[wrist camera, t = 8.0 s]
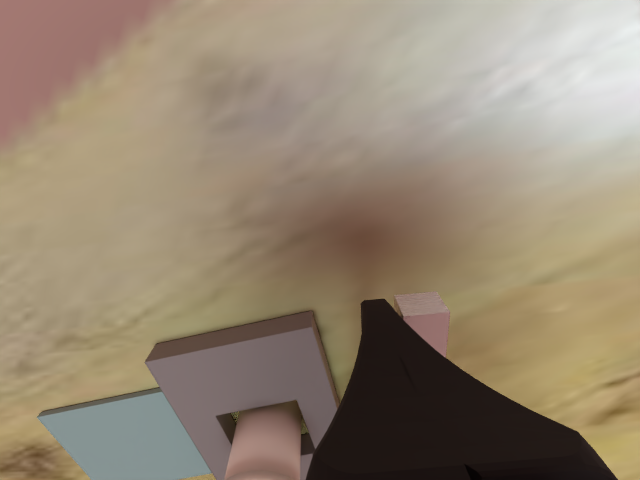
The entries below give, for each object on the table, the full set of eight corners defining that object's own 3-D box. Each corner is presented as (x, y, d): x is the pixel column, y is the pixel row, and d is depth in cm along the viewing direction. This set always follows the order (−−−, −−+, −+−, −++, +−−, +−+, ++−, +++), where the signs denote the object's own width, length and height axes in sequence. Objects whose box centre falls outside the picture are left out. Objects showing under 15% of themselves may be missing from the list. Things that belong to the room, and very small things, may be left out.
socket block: (359, 469, 26) (362, 490, 24) (240, 491, 26) (236, 512, 25) (311, 310, 19) (311, 326, 18) (155, 344, 20) (144, 362, 18)
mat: (213, 467, 25) (211, 473, 25) (106, 487, 25) (103, 493, 25) (164, 386, 21) (162, 391, 21) (41, 412, 22) (36, 417, 22)
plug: (314, 431, 24) (316, 531, 18) (247, 443, 24) (229, 546, 18) (296, 381, 22) (292, 477, 16) (223, 396, 22) (194, 495, 16)
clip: (428, 509, 17) (437, 538, 16) (383, 513, 17) (388, 542, 16) (448, 290, 11) (464, 311, 10) (381, 296, 11) (389, 317, 10)
